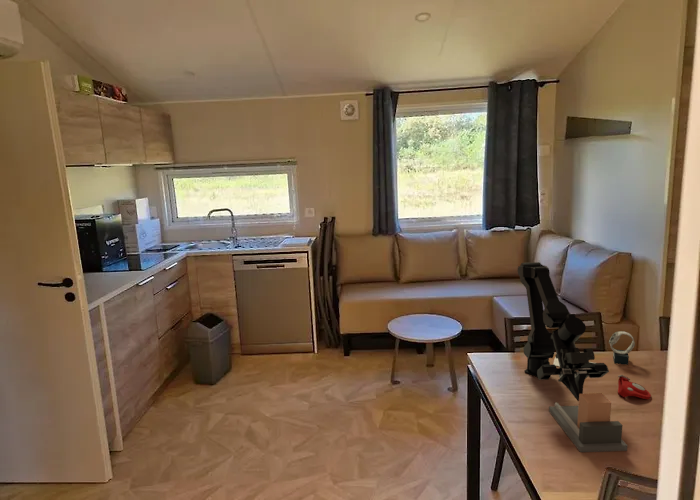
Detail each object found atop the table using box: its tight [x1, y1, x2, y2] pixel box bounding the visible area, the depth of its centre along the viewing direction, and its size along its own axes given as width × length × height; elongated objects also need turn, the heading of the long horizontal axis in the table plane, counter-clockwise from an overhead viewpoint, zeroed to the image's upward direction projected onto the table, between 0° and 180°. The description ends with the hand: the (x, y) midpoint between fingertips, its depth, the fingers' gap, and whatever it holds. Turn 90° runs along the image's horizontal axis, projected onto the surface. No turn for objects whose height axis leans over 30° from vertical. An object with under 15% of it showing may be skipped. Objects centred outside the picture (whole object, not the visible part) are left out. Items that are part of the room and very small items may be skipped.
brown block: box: [577, 392, 612, 428], centre depth 129 cm, size 5×6×10 cm
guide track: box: [548, 402, 628, 453], centre depth 133 cm, size 20×12×6 cm, turn 0°
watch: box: [608, 330, 636, 366], centre depth 173 cm, size 6×8×11 cm
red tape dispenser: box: [617, 374, 652, 400], centre depth 153 cm, size 12×4×10 cm
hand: (580, 401), depth 136 cm, fingers closed
